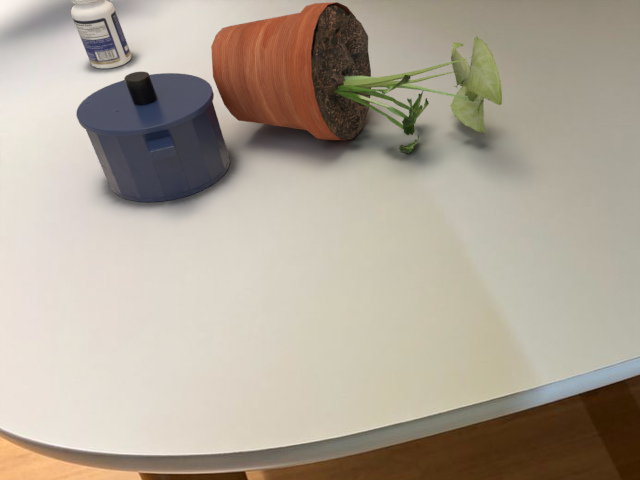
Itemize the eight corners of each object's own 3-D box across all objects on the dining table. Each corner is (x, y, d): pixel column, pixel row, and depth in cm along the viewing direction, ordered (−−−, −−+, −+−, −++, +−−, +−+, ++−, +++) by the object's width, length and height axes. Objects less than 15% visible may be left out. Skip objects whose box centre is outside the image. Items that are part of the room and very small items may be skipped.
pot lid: (86, 154, 76) (70, 118, 74) (76, 100, 85) (61, 66, 83) (226, 122, 80) (216, 86, 77) (203, 74, 89) (193, 40, 86)
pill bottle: (112, 51, 113) (85, -22, 107) (140, 56, 111) (114, -18, 105) (82, 66, 110) (52, -9, 103) (111, 72, 108) (82, -4, 101)
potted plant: (228, 172, 90) (530, 177, 81) (179, 31, 80) (516, 19, 71) (289, 117, 102) (560, 116, 92) (253, -12, 92) (552, -28, 83)
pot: (119, 227, 80) (89, 158, 74) (103, 150, 92) (76, 86, 86) (245, 194, 83) (225, 127, 78) (213, 125, 95) (194, 62, 90)
